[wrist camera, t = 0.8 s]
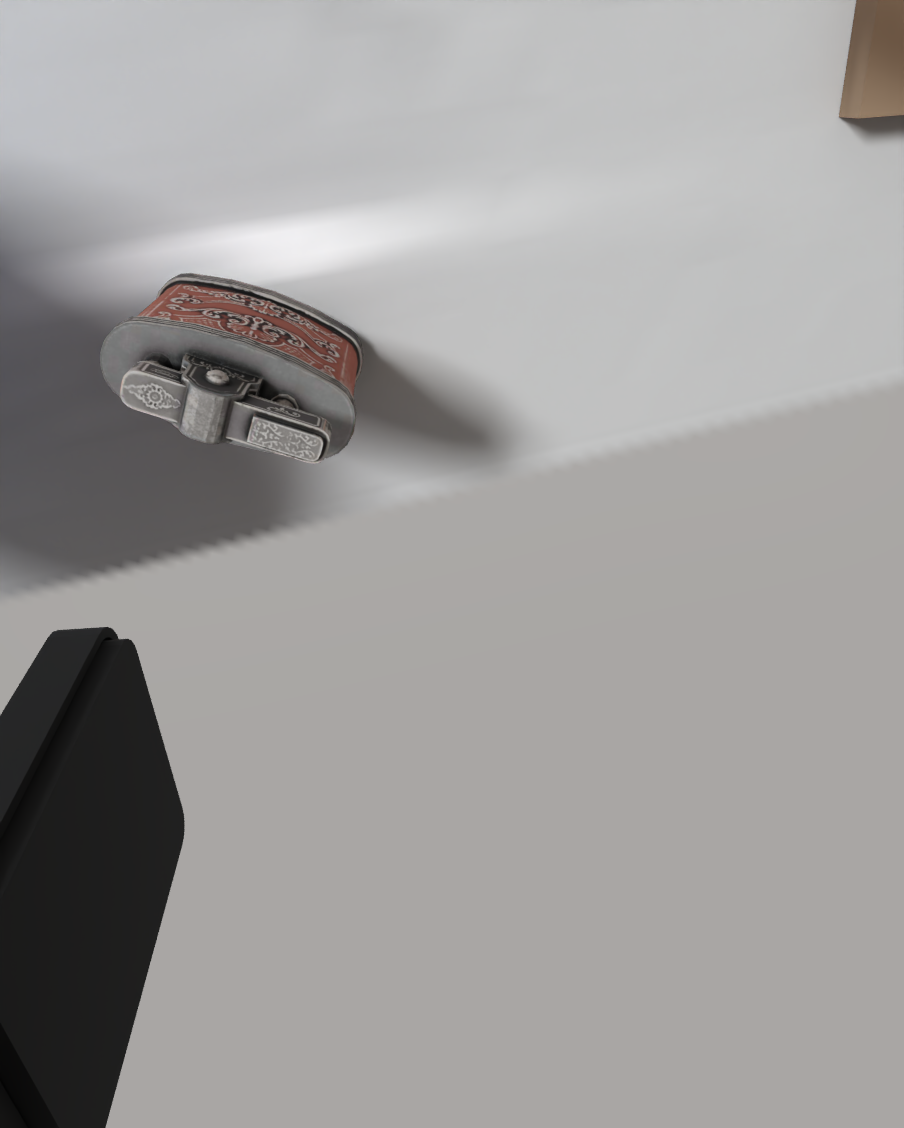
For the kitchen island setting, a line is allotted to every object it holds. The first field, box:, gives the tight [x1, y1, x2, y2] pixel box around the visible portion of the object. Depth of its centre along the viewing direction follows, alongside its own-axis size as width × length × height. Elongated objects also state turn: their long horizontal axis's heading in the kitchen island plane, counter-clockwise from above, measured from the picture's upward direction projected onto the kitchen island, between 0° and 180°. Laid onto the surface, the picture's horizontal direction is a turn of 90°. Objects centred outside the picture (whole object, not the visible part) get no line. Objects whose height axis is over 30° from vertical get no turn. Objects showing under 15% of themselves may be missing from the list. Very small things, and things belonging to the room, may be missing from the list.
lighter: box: [100, 273, 363, 464], centre depth 28 cm, size 8×3×10 cm, turn 70°
